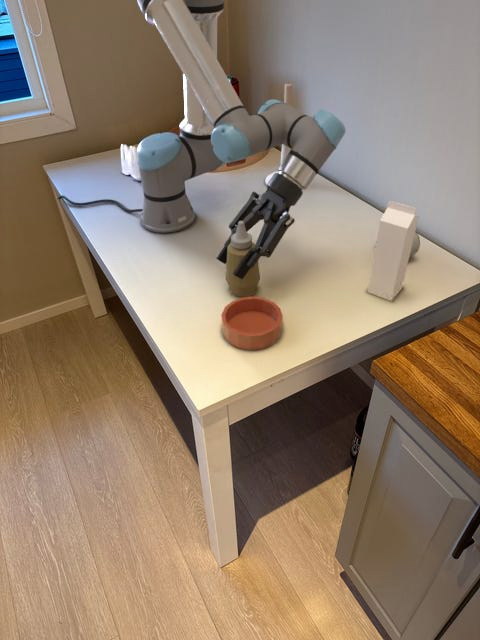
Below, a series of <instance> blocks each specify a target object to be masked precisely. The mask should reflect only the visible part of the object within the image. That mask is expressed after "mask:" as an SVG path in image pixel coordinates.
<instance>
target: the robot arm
mask: <svg viewBox="0 0 480 640" xmlns="http://www.w3.org/2000/svg"><path fill="white" fill-rule="evenodd" d="M136 1H137V4H138V7H139V8H140V11H141V13H142V14H143V16H144V18H145V20H146V21H147V23H148V24H150V25H151V26H155V27H156V29H157V31H158V33H159V34H160V36H161V38H162V40H163V41H164V43H165V45H166V46H167V48H168V50H169V52H170V54H171V55H172V57H173V59H174V60H175V62H176V64H177V65H178V67H179V69H180V71H181V72H182V80H183V101H184V103H183V105H184V118H183V119H182V120H181V121H180V122H179V135H178V134H177V133H175V132H168V131H165V132H162V133H160V132H158V133H154V134H151V135H149V136H147V137H145V138H143V139H142V140H141V141H140V143H139V144H138V145H137V147H136V148H137V159H138V160H137V163H138V166H139V170H140V176H141V181H140V182H141V187H142V193H143V204H142V208H135V209H129V208H127V207H125V206H124V205H123V204H122V203H121V202H119V201H117V200H115V199H109V198H107V199H106V198H105V199H103V198H102V199H97V200H96V199H95V200H93V201H92V200H91V201H86V202H76V201H73V200H71V199H69V198H68V197H67V196H65V195H59V196H58V198H57V200H61V199H64V200H65V201H66V202H68V203H69V204H71V205H74V206H89V205H94V204H99V203H100V204H101V203H114V204H116V205H118V206H119V207H120V208H121V209H122V210H123V211H125V212H127V213H141V214H140V216H141V217H140V218H141V224H142V226H143V227H144V228H145V229H146V230H148V231H150V232H152V233H158V234H171V233H176V232H180V231H183V230H185V229H187V228H189V227H190V226H191V225H192V224H193V223H194V222H195V219H196V217H195V211H194V208H193V206H192V204H191V201H190V199H189V197H188V195H187V192H186V184H185V183H186V181H188V180H191V179H194V178H196V177H199V176H201V175H204V174H206V173H211V172H214V171H216V170H218V169H219V168H222V167H223V166H225V165H226V164H229V163H234V162H238V161H241V160H245V159H247V158H249V157H251V156H254V155H256V154H260V153H261V152H264V151H268V150H271V149H274V148H276V147H278V146H280V145H281V146H282V144H283V145H285V146H287V147H289V148H290V149H291V150H290V152H289V153H288V155H287V156H286V158H285V159H284V160H283V162H282V163H281V162H280V163H281V165H278V167H277V171H279V173H274V172H273V173H274V175H273V176H272V178H271V179H270V181H269V182H268V184H267V185H266V190H265V191H264V192H263V193H261V194H259V193H257V192H256V191H252V192H251V194H250V195H249V198H248V200H247V201H246V203H245V204H244V205H243V206H242V208H241V209H240V210H239V211H238V213H237V214H236V215H235V216H234V218H233V219H232V220H231V221H230V223H229V225H228V228H229V229H230V231H231V232H230V233H231V234H230V235H229V236H228V238H227V239H226V240H225V242H224V245H223V247H222V249H221V250H220V252H219V253H218V255H217V256H216V258H215V259H216V260H217V261H219V262H220V263H222V264H224V265H226V264H227V247H228V245H229V244H230V243H231V236H232V235H233V234H235V233H236V231H237V226H238V222H239V221H243V222H244V225H245V228H246V232H247V233H248V232H249V231H250V230H251V229H252V228H253V227H254V226H255V225H257V224H258V223H259V222H260V221H262V220H263V225H262V227H261V230H260V232H259V235H258V237H257V240H256V242H255V247H254V248H251V249H250V250H249V251H248V253H247V254H246V256H245V257H244V258H243V260H242V261H241V263H240V264H239V266H238V267H237V268H236V270H235V271H234V273H233V274H234V275H235V276H237V277H238V278H240V279H243V278H244V276H245V275H246V274H247V272H248V271H249V269H250V268H253V267H254V265H255V264H256V263H257V261H258V262H259V260H260V259H261V258H262V257H265V258H270V257H271V256H272V255H273V253H274V251H275V250H276V249H277V247H278V245H279V244H280V242H281V240H282V239H283V238H284V235H285V234H286V232H287V231H288V229H289V228H290V227H291V226H292V225H293V224H294V223H295V222H296V220H295V218H294V217H293V216H291V214H290V213H289V212H290V209H291V207H295V206H296V205H297V203H298V201H299V200H300V199H301V197H302V195H303V194H304V193H303V192H304V191H303V190H307V189H308V187H309V186H310V184H311V183H312V181H314V179H315V177H316V176H317V174H318V173H319V171H320V170H321V168H322V167H323V166H324V164H325V163H326V162H327V160H328V159H329V158H330V157H331V156H332V154H333V152H334V151H335V150H337V148H338V145H339V143H340V142H341V140H342V139H343V137H344V136H345V133H346V126H345V125H344V123H343V122H342V120H340V119H339V118H338V117H337V116H336V115H335V114H333V113H332V112H330V111H328V110H327V109H318V110H317V111H316V113H315V114H313V116H311V115H307V114H306V113H305V112H302V111H300V110H299V109H297V108H295V107H293V106H292V105H291V106H290V105H288V104H287V103H284V101H281V100H278V99H275V98H274V99H269V100H267V101H266V102H265V103H264V104H263V105H261V106H260V108H259V109H258V112H257V113H255V114H252V115H250V114H249V112H248V111H247V109H246V108H245V106H244V104H243V103H242V101H241V99H240V97H239V96H238V93H237V92H236V90H235V89H234V87H233V85H232V83H231V81H230V80H229V78H228V76H227V74H226V72H225V71H224V69H223V67H222V65H221V64H220V62H219V60H218V19H219V16H220V15H221V14H222V13H223V12H224V10H225V0H136Z"/></svg>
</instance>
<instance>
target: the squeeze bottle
mask: <svg viewBox="0 0 480 640" xmlns="http://www.w3.org/2000/svg"><path fill="white" fill-rule="evenodd" d="M255 245H256V243H255V242H253V236H252V234H251V233H249V232H248V231H247V232H246V228H245V225H244V222H243V221H239V222H238V226H237V231H236V233H235V234H233V235H232V236H231V243H230V244H229V245H228V247H227V263H226V264H225V265H226V266H225V281H226V283H227V286H228V287H229V289H230V292H231V294H233V295H235V296H236V297H250V296H251V295H253V294H254V293H255V291H256V290H257V287H258V285H259V282H260V280H261V274H260V266H259V260H258V261H257V263H256V264H255V265H254V267H253V268H250V269H249V271H248V272H247V274H246V275H245V276H244V278H243V279H240V278H238V277H237V276H235V275H234V274H233V273H234V271H235V270H236V268H237V267H238V266H239V264H240V263H241V261H242V260H243V258H244V257H245V256H246V254H247V253H248V251H249V250H250V249H251V248H254V247H255Z"/></svg>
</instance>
